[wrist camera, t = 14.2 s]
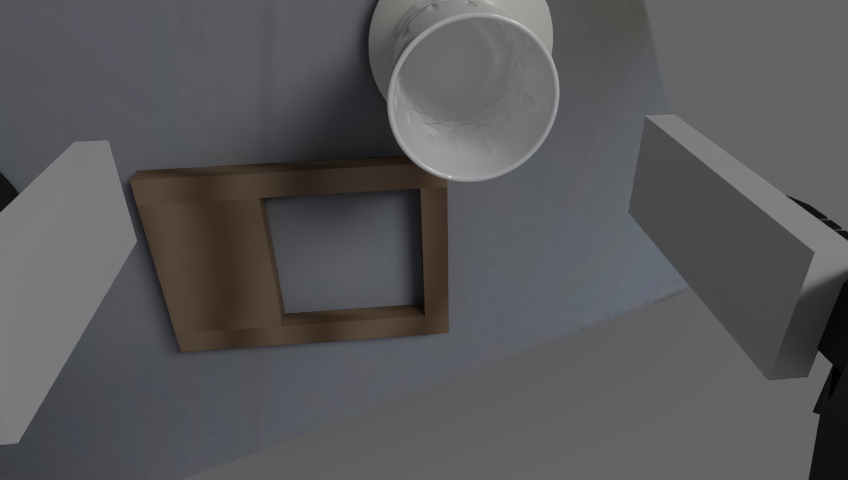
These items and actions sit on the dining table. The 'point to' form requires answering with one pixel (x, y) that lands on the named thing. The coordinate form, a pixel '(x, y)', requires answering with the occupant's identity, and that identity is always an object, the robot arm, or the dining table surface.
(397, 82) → the white cup
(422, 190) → the board
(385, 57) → the coaster
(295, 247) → the dining table surface
